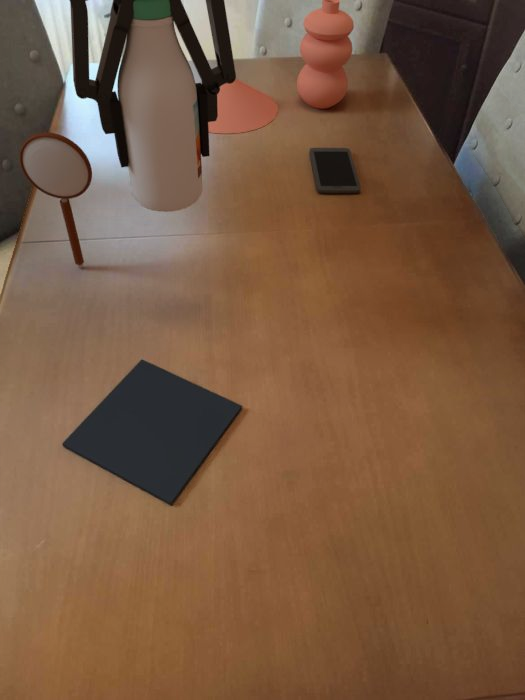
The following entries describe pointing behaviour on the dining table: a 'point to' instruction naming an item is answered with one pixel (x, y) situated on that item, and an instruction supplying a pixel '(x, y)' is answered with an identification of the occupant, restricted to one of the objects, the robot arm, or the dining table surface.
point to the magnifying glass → (58, 175)
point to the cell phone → (334, 170)
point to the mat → (154, 430)
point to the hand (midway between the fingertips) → (163, 154)
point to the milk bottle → (159, 112)
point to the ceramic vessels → (313, 81)
